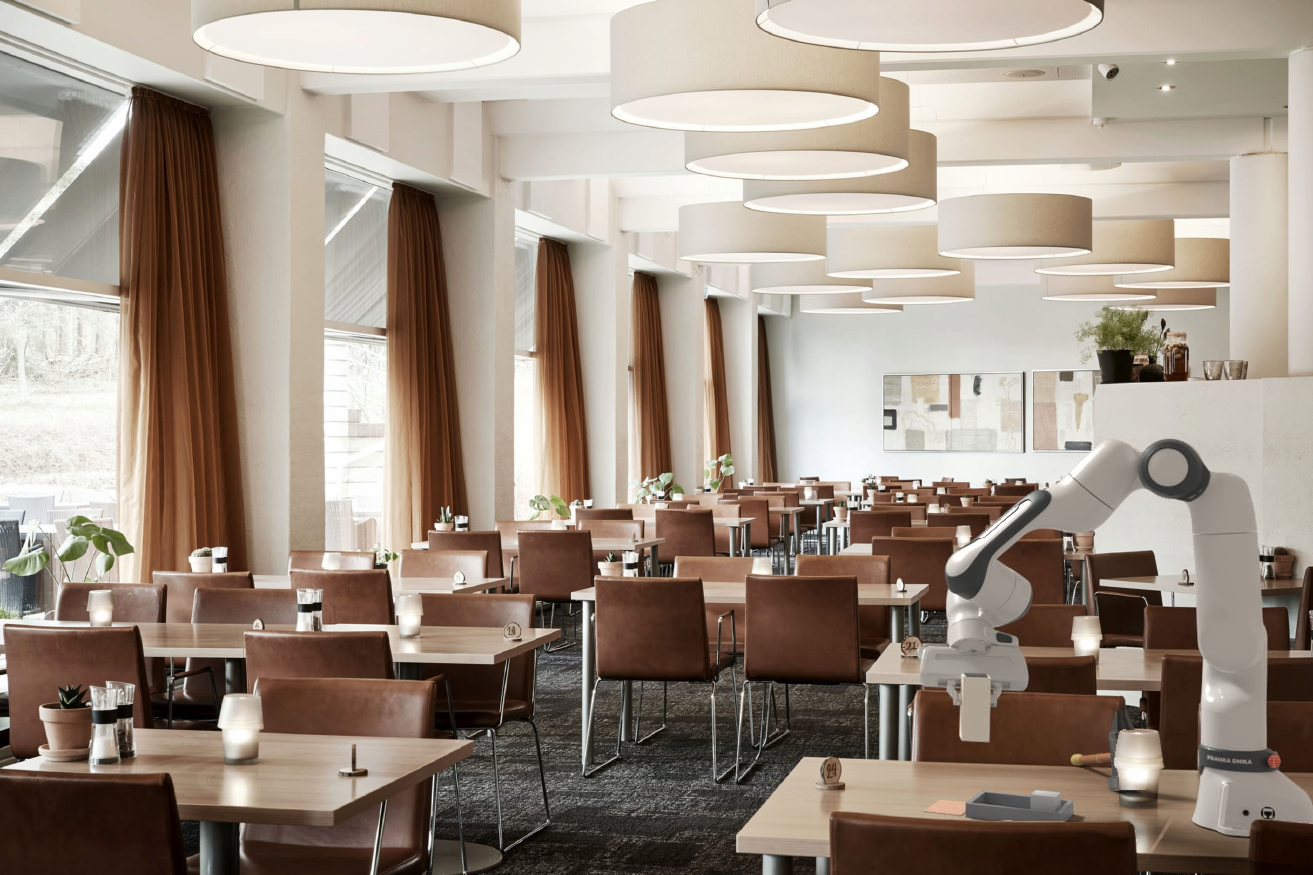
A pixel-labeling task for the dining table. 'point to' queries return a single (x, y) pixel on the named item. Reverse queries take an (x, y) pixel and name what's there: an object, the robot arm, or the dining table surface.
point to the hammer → (1119, 724)
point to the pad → (948, 807)
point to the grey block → (1045, 801)
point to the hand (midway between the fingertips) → (975, 704)
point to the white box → (975, 707)
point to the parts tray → (1013, 808)
